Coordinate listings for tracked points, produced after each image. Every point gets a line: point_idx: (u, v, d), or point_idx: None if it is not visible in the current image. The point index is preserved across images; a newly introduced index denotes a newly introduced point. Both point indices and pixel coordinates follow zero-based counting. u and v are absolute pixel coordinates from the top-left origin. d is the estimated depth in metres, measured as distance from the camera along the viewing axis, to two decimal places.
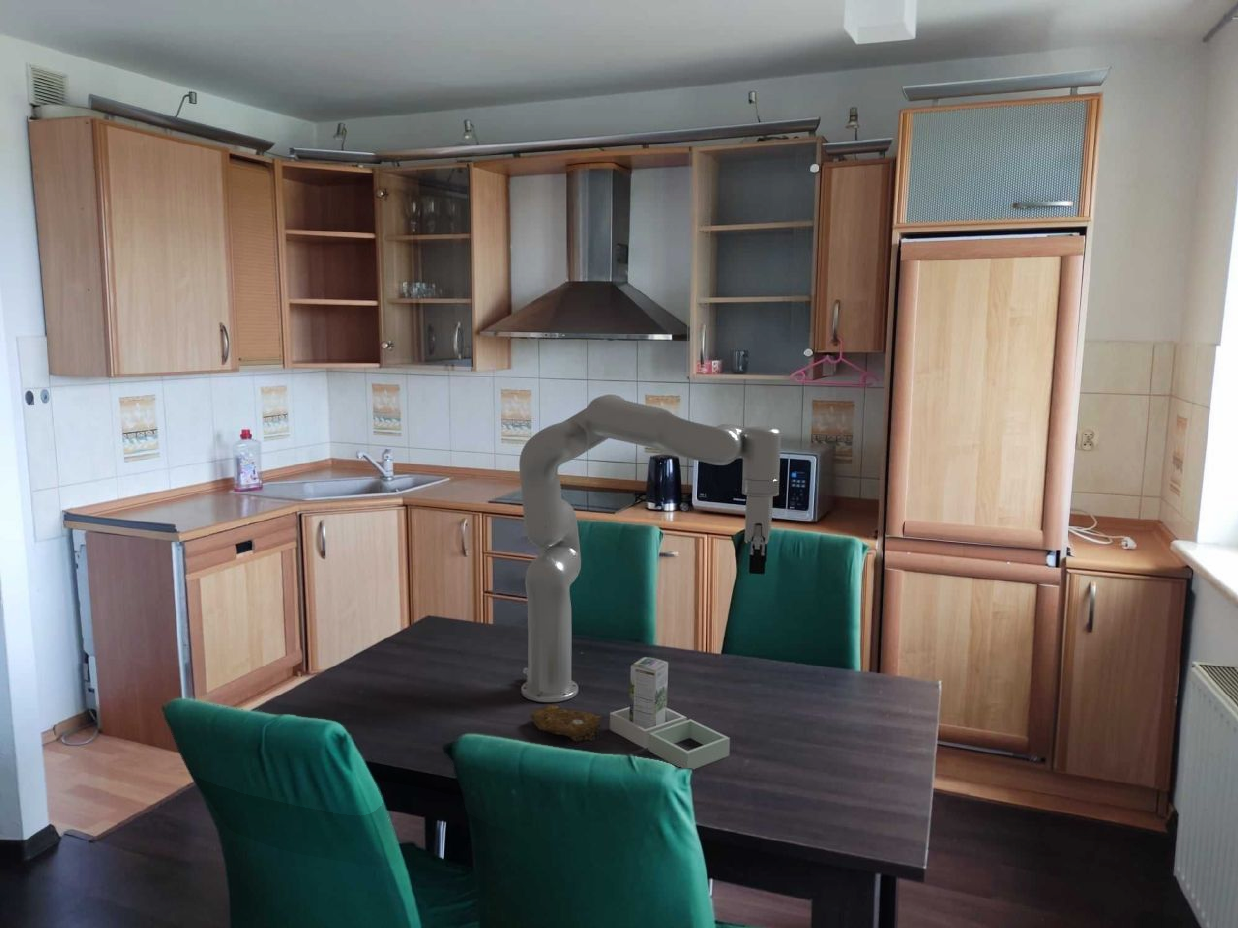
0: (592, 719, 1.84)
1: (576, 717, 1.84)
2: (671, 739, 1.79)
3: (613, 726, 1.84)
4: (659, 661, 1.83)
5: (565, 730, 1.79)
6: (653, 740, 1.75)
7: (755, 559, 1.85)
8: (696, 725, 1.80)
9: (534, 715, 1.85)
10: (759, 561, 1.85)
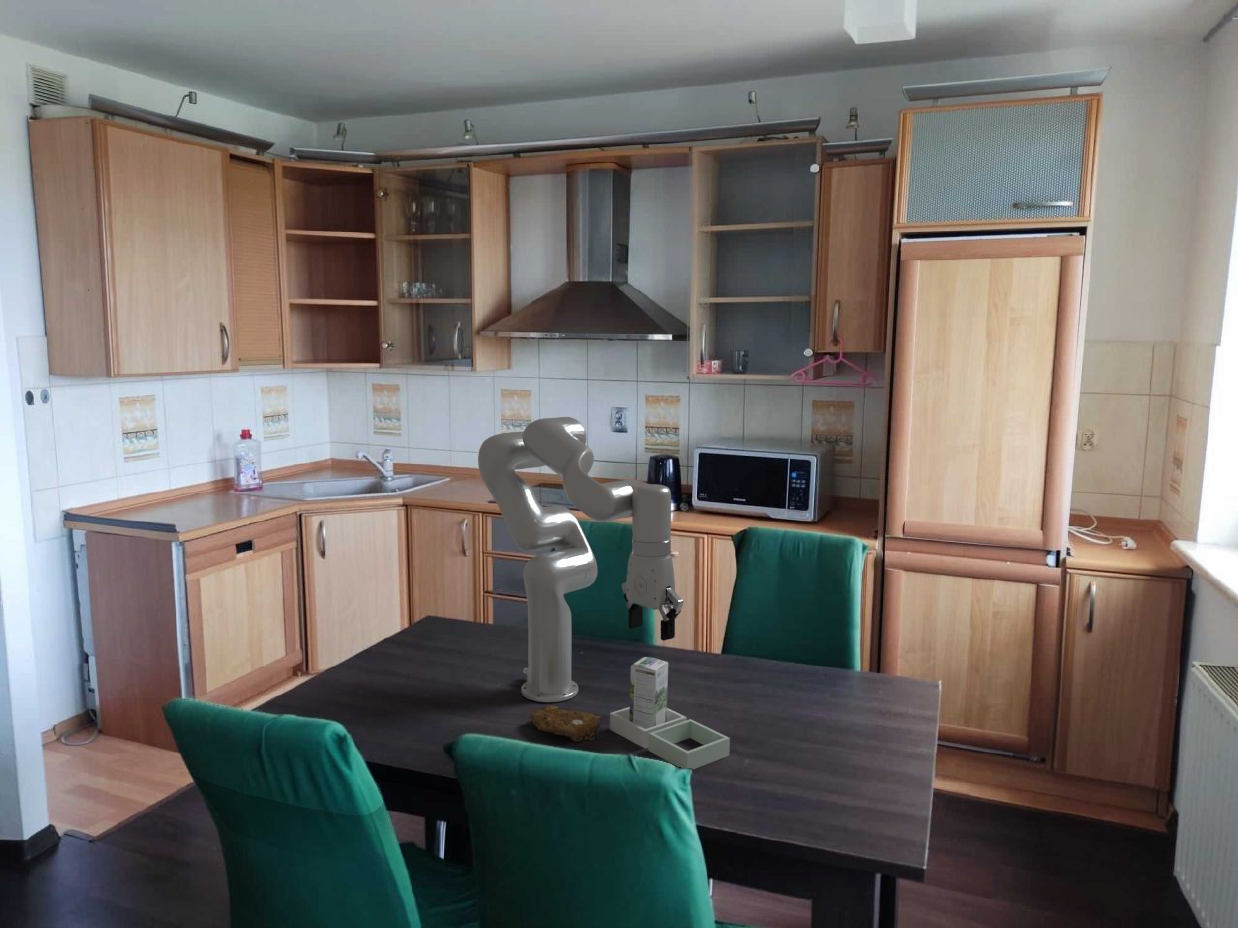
0: (592, 719, 1.84)
1: (575, 717, 1.84)
2: (671, 739, 1.79)
3: (613, 726, 1.84)
4: (659, 661, 1.83)
5: (565, 730, 1.79)
6: (653, 740, 1.75)
7: (669, 624, 1.76)
8: (696, 725, 1.80)
9: (533, 715, 1.85)
10: (672, 625, 1.77)
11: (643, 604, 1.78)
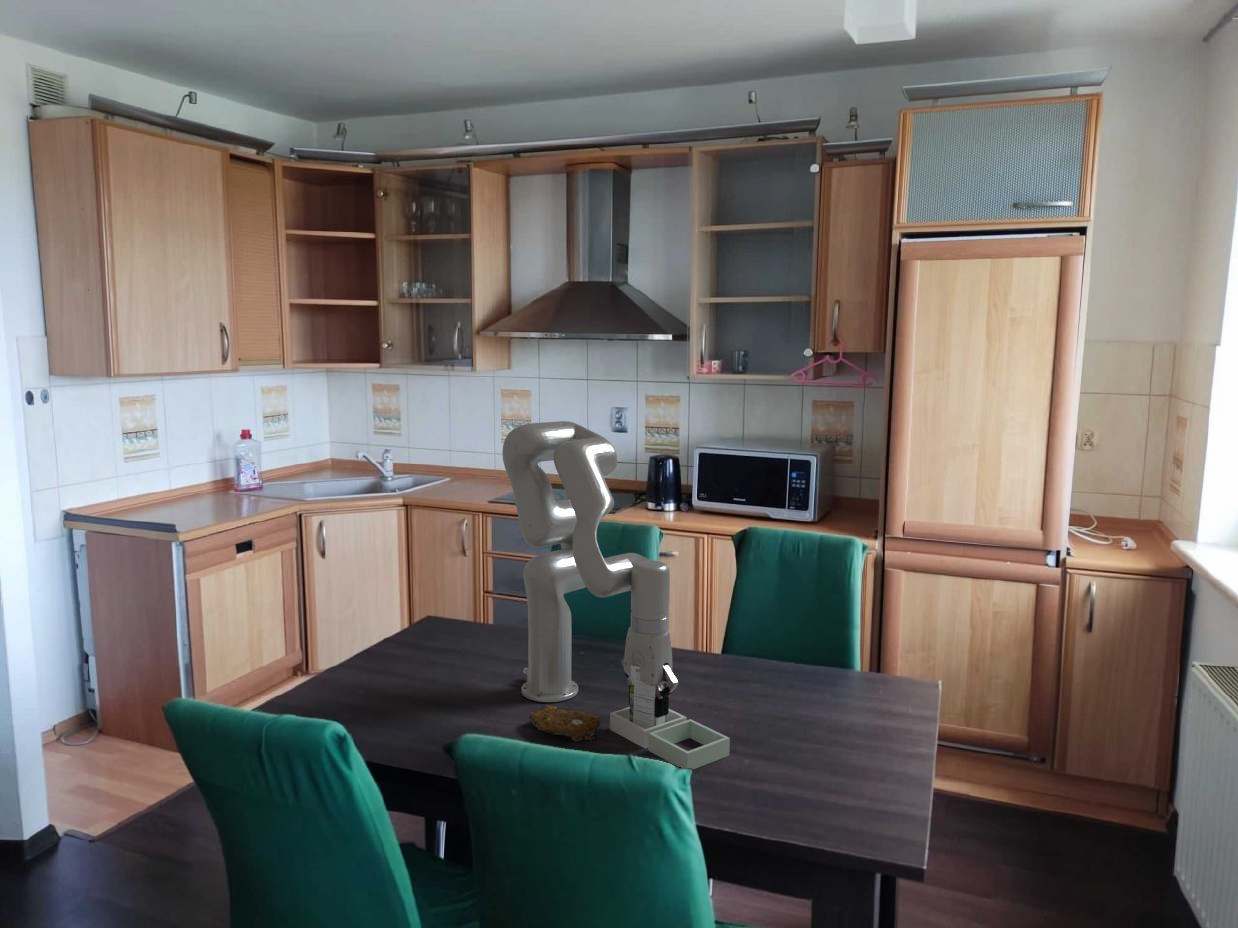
0: (591, 719, 1.84)
1: (575, 717, 1.84)
2: (671, 739, 1.79)
3: (613, 726, 1.84)
4: None
5: (564, 730, 1.79)
6: (653, 740, 1.75)
7: (663, 702, 1.79)
8: (696, 725, 1.80)
9: (533, 716, 1.84)
10: (666, 703, 1.80)
11: (641, 679, 1.80)
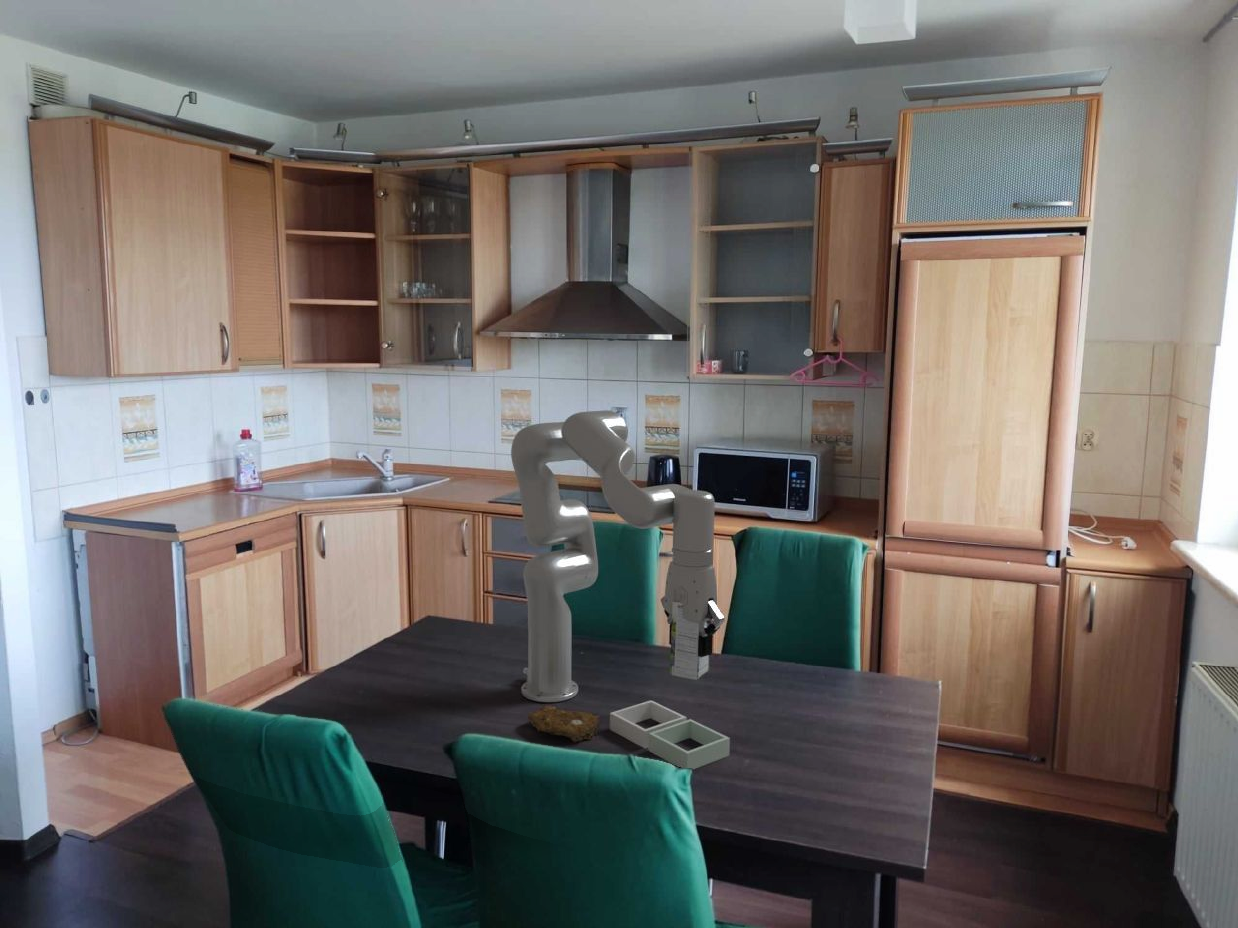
0: (591, 719, 1.84)
1: (574, 717, 1.84)
2: (671, 739, 1.79)
3: (613, 726, 1.84)
4: None
5: (564, 731, 1.79)
6: (653, 740, 1.75)
7: (708, 640, 1.68)
8: (696, 725, 1.80)
9: (532, 716, 1.84)
10: (711, 641, 1.69)
11: (683, 616, 1.69)
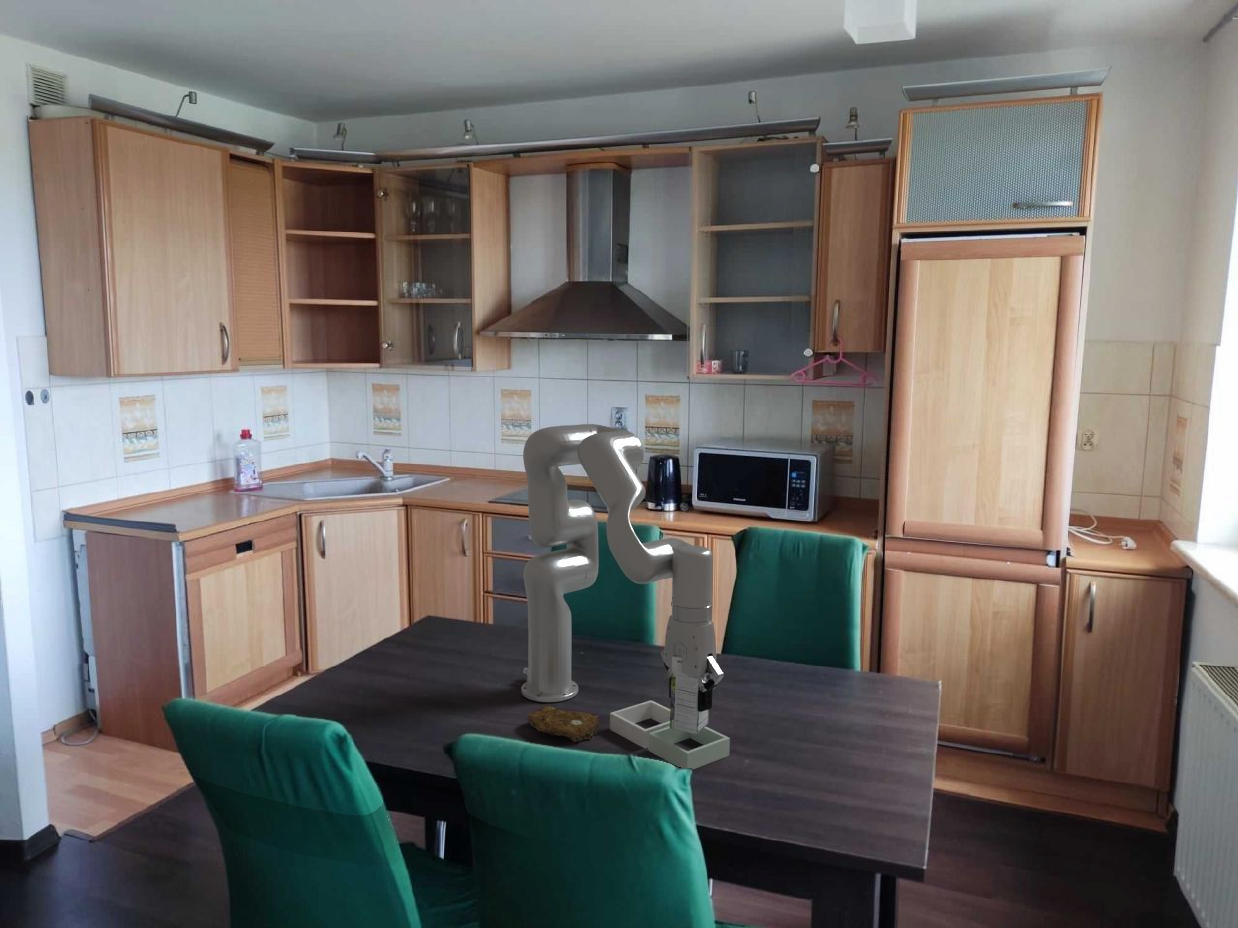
0: (590, 719, 1.84)
1: (574, 718, 1.84)
2: (671, 739, 1.79)
3: (613, 726, 1.84)
4: None
5: (564, 731, 1.78)
6: (653, 740, 1.75)
7: (707, 695, 1.69)
8: None
9: (532, 717, 1.84)
10: (710, 696, 1.70)
11: (683, 671, 1.70)
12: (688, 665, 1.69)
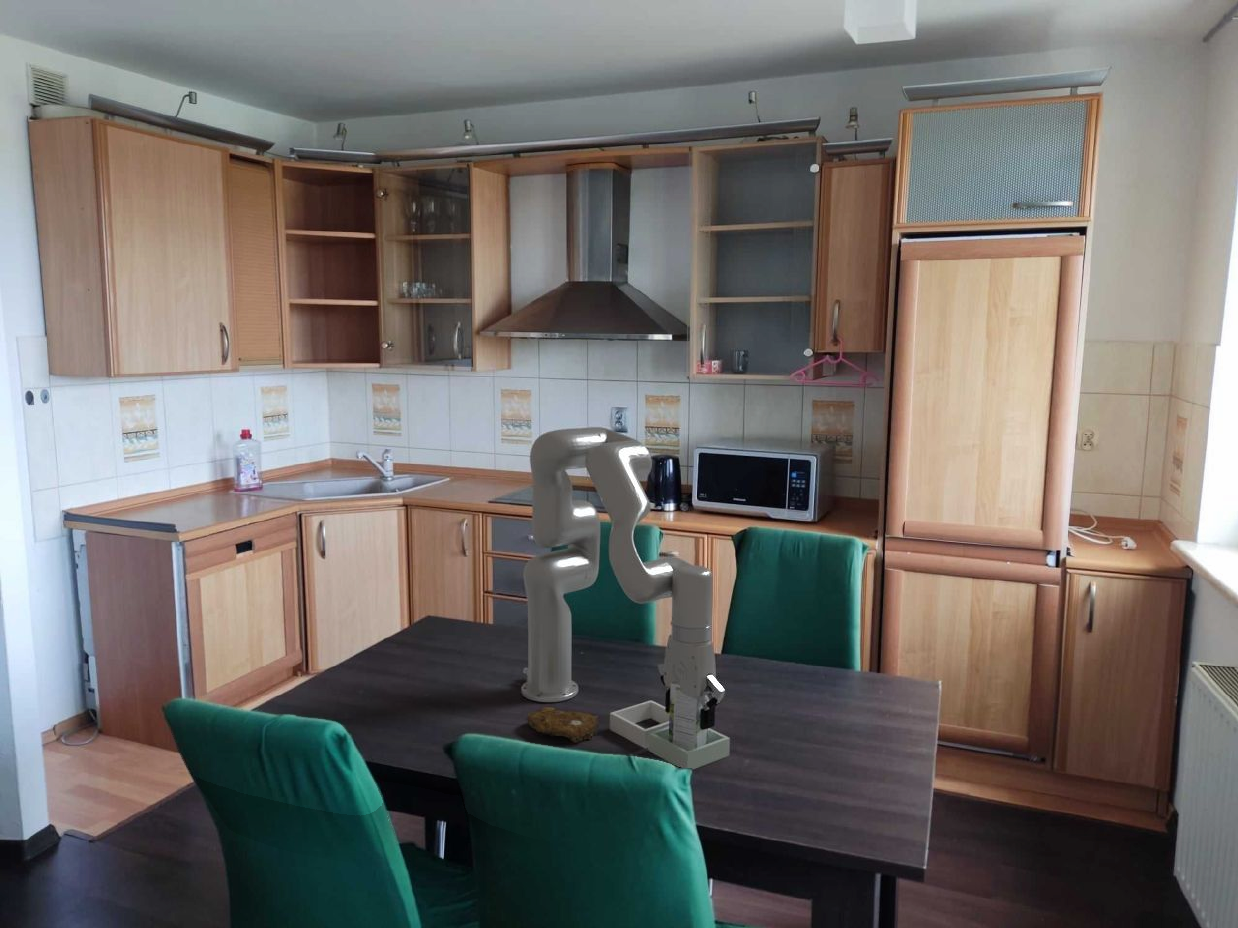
0: (590, 719, 1.84)
1: (573, 718, 1.84)
2: None
3: (613, 726, 1.84)
4: None
5: (564, 731, 1.78)
6: (653, 740, 1.75)
7: (710, 713, 1.69)
8: None
9: (531, 717, 1.84)
10: (713, 714, 1.70)
11: (682, 691, 1.71)
12: (687, 685, 1.70)
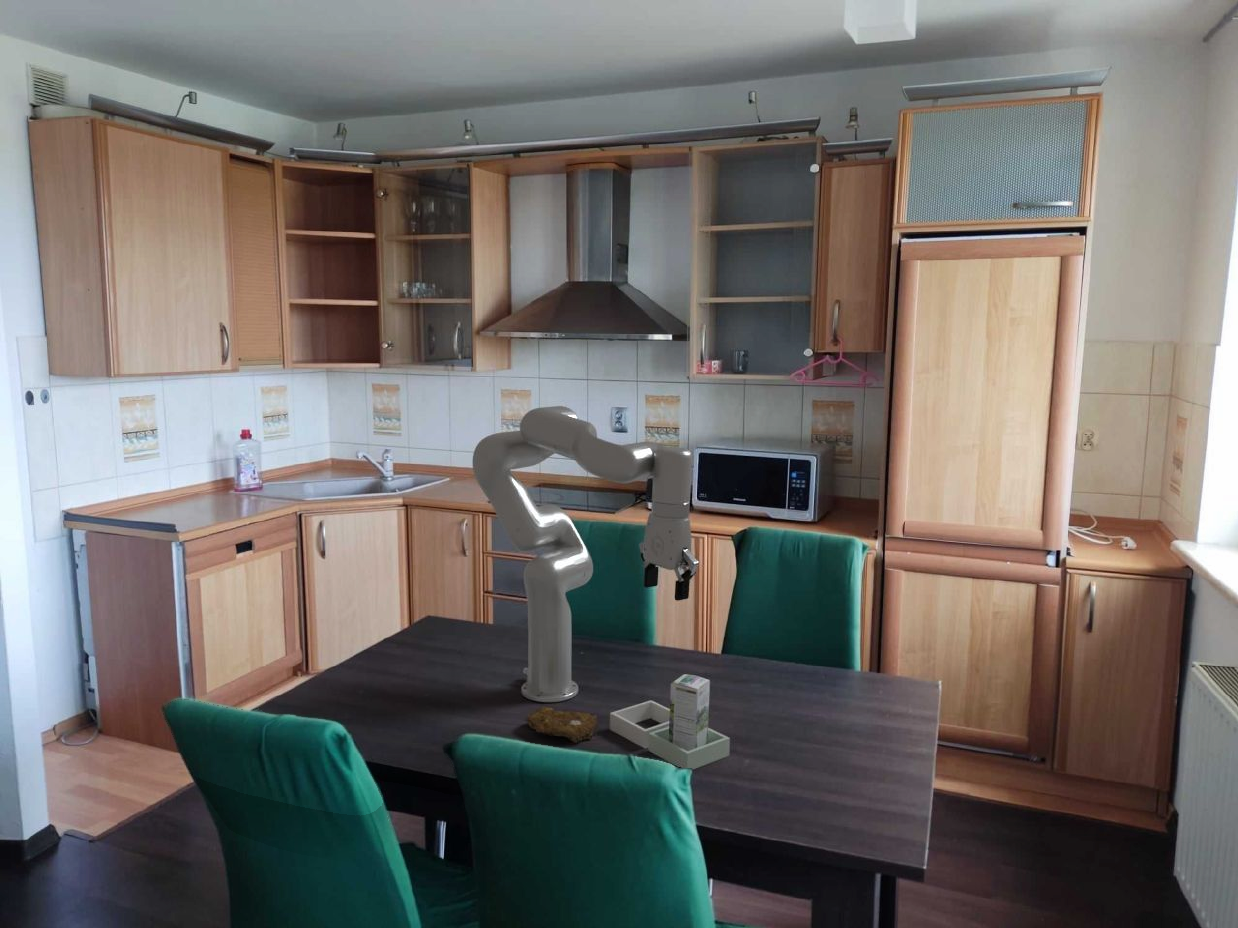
0: (589, 719, 1.84)
1: (573, 718, 1.84)
2: None
3: (613, 726, 1.84)
4: (700, 679, 1.74)
5: (564, 731, 1.78)
6: (653, 740, 1.75)
7: (684, 585, 1.79)
8: None
9: (530, 718, 1.83)
10: (687, 586, 1.80)
11: (659, 564, 1.81)
12: (664, 558, 1.80)
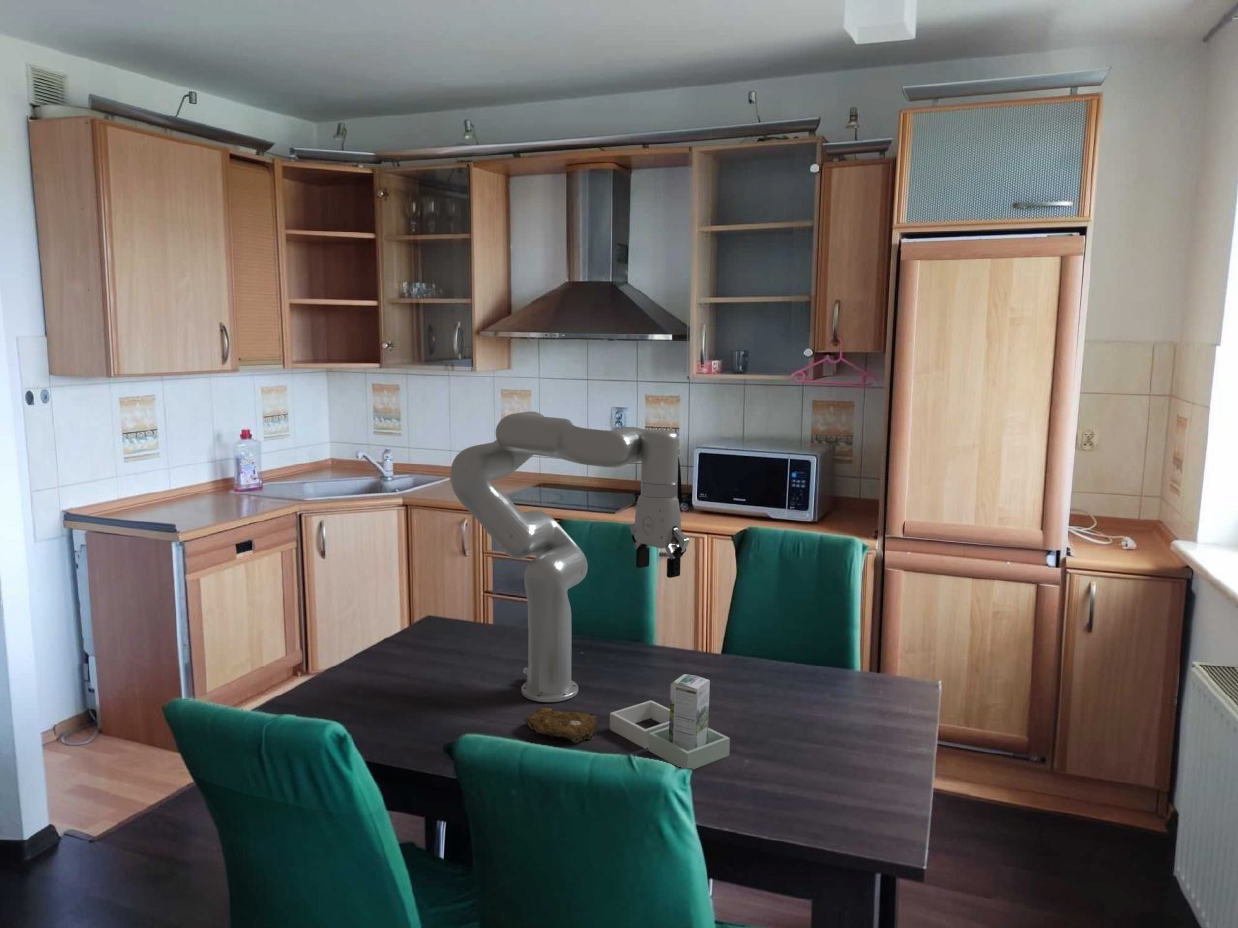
0: (589, 719, 1.84)
1: (572, 718, 1.84)
2: None
3: (613, 726, 1.84)
4: (700, 679, 1.74)
5: (564, 732, 1.78)
6: (653, 740, 1.75)
7: (675, 562, 1.86)
8: None
9: (530, 718, 1.83)
10: (678, 563, 1.86)
11: (650, 543, 1.87)
12: (655, 537, 1.86)
